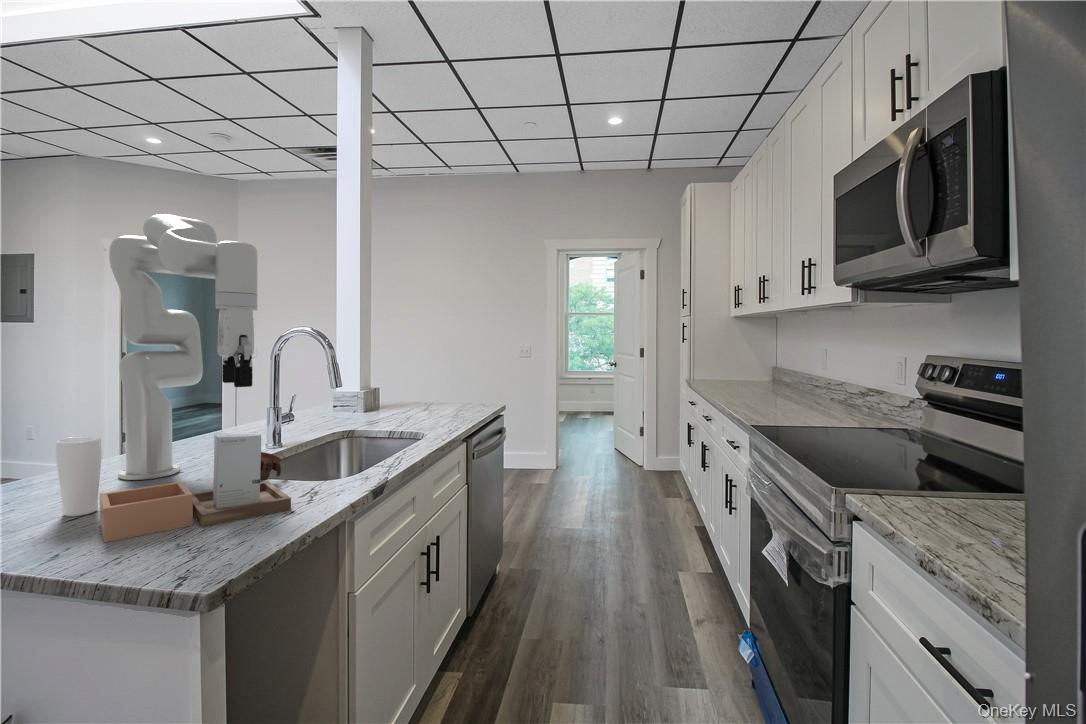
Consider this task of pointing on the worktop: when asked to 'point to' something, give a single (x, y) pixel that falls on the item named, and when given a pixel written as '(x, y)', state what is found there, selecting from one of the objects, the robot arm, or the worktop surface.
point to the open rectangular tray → (145, 510)
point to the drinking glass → (79, 474)
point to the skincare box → (236, 469)
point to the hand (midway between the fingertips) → (237, 384)
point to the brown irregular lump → (269, 465)
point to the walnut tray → (269, 503)
